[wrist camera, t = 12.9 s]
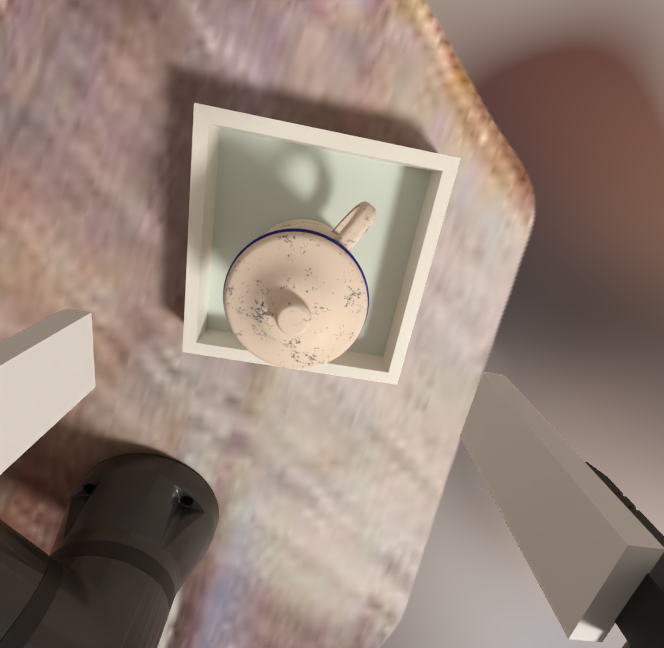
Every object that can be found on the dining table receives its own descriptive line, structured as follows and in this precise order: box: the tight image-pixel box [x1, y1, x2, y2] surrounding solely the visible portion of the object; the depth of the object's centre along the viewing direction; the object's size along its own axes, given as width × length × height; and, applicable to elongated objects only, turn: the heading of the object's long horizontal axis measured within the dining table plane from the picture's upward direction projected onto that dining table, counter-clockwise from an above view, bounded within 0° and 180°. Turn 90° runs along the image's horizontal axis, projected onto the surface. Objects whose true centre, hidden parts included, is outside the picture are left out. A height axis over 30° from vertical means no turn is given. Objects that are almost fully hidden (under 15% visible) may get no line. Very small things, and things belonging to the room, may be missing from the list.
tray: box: [183, 103, 461, 385], centre depth 30 cm, size 18×18×4 cm
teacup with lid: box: [223, 201, 376, 369], centre depth 26 cm, size 12×9×12 cm
